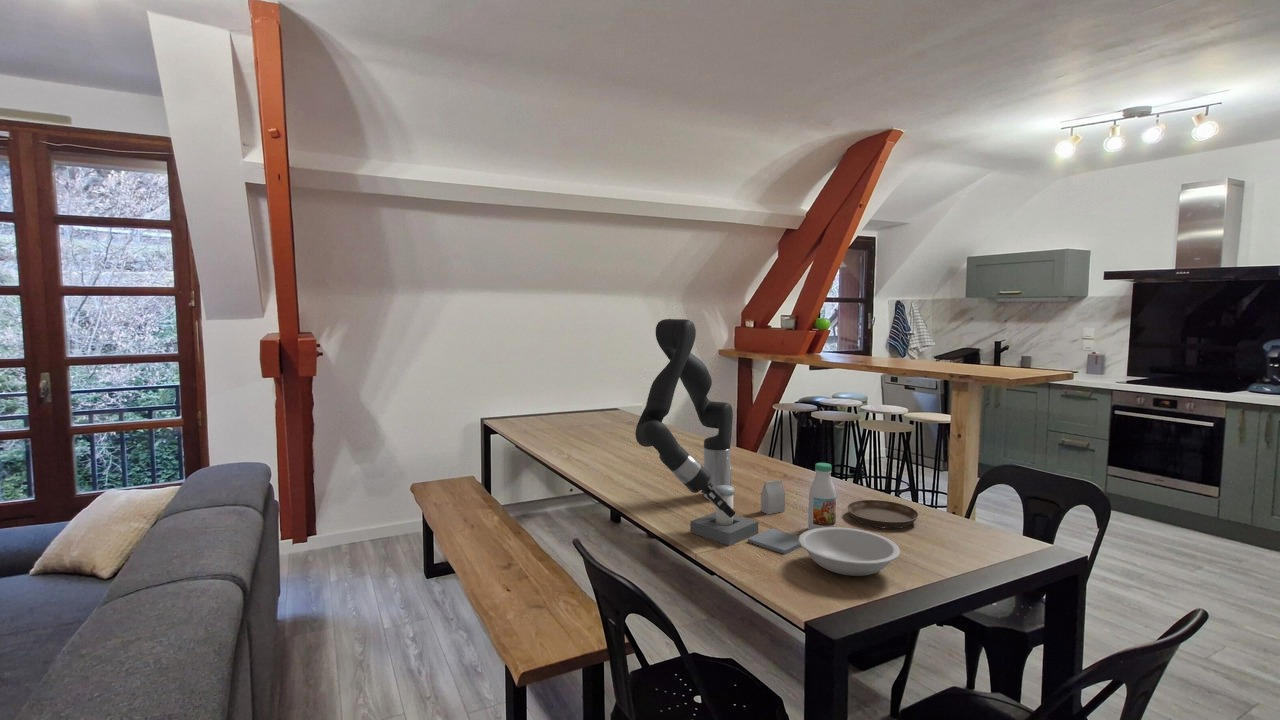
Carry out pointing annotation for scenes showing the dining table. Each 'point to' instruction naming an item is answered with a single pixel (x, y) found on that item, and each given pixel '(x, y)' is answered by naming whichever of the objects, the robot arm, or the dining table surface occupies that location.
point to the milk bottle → (822, 499)
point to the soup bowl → (849, 550)
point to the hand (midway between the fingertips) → (729, 510)
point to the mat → (776, 540)
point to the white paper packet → (773, 497)
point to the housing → (724, 529)
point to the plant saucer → (882, 513)
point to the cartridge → (727, 496)
